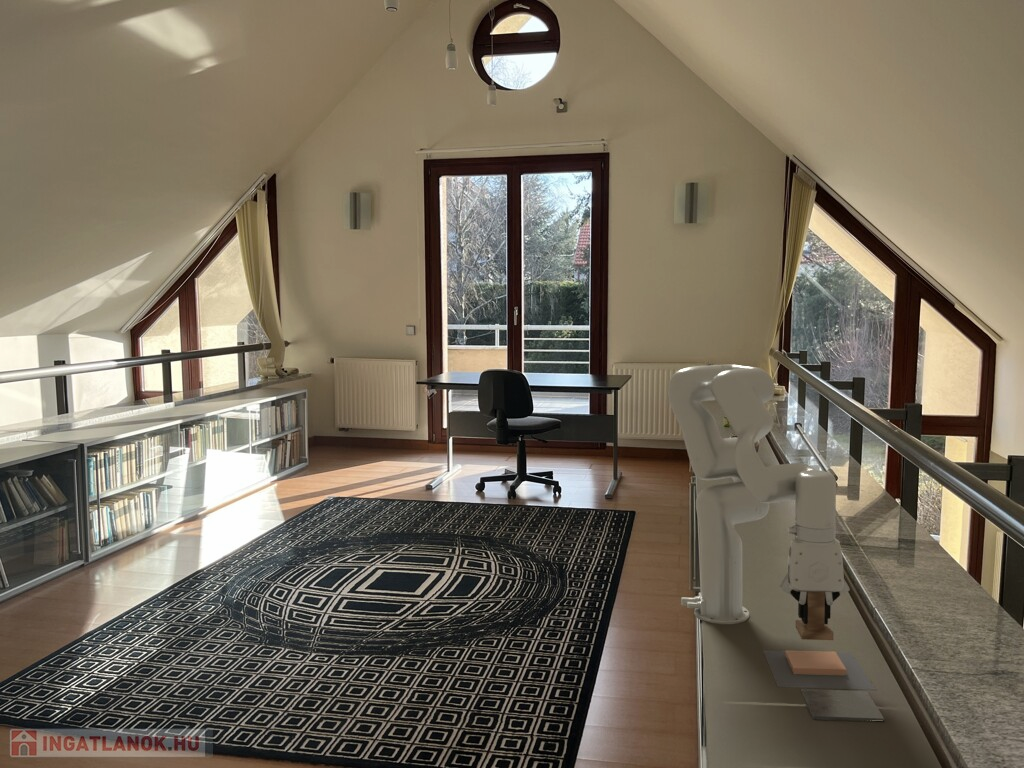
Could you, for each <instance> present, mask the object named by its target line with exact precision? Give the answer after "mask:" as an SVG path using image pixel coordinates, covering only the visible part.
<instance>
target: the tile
mask: <svg viewBox="0 0 1024 768" xmlns="http://www.w3.org/2000/svg"><path fill="white" fill-rule="evenodd" d="M784 651H785V657H786V659H787V661H788V663H789V665H790V667H791V669H792V672H793V674H803V675H837V676H845V675H846V668H845V666H844V665H843V663H842V662H841V660H840V658H839V657H838V655H837V653H838V652H837V651H829V650H828V651H827V650H825V651H824V650H822V651H821V650H819V651H818V650H784Z"/></svg>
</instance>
